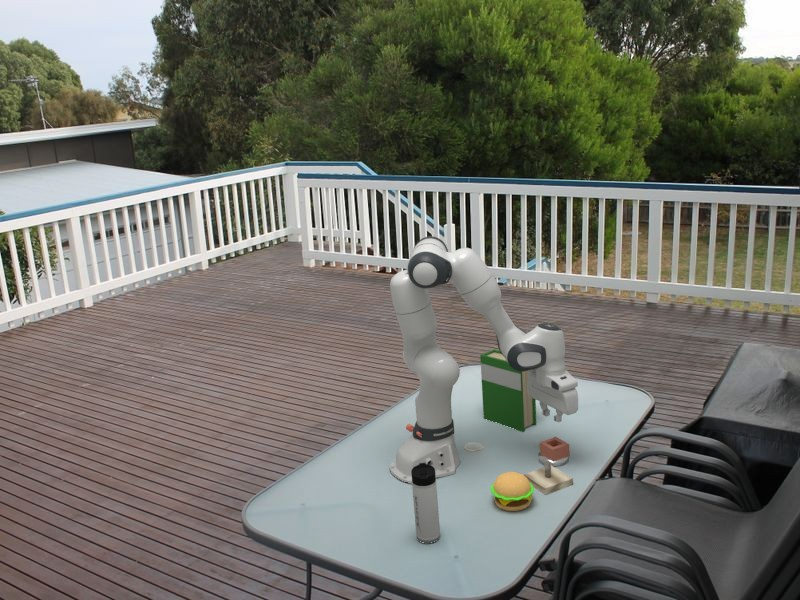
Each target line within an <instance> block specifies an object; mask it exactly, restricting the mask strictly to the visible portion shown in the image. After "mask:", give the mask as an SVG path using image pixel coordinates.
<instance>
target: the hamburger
mask: <svg viewBox="0 0 800 600" xmlns="http://www.w3.org/2000/svg"><path fill="white" fill-rule="evenodd" d="M489 490H490V493H491V494H492V495H494V498H493V500H494V501H493V502H494V503H495V505H496V506H497V507H498V508H499V509H501V510H504V511H507V512H520V511H522V510H525V509H526V508H528V507H529V506H530V504H531V501H533V500H532V499H533V494H534V492H535V488H534V487H533V486H532V484H531V482H529V480H528V479H527V478H526V477H525V476H524V474H522V473H519V472H516V471H507V472H503V473H501V474H499V475H498V476H497V477H496V478H495V480H494V482H492V485H491V486H490V489H489Z"/></svg>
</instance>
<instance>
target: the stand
mask: <svg viewBox="0 0 800 600" xmlns="http://www.w3.org/2000/svg"><path fill="white" fill-rule="evenodd" d="M544 463H545V465H544V467H541V468H538V469H535V470H532V471H530V472H527V473H525V474H523V475H524V476H525V477H526V478H527V479H528V480H529V482H531V484H532V486H533V487H534V489H536V490H538V492H541V493H542V494H544V495H546V496H547V495H549V494H552V493H554V492H556V491H559V490H562V489H565V488H567V487H570V486H573V484H574V480H573V479H574V478H573V477H572V476H569V475H568V474H567V473H564V472H563V471H562V470H560V469H558V467H553V466H552V465H551V462H550V461H545V462H544Z"/></svg>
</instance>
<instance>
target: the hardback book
mask: <svg viewBox="0 0 800 600" xmlns="http://www.w3.org/2000/svg"><path fill="white" fill-rule="evenodd" d="M479 357H480V358H479V359H480V375H481V392H482V393H481V394H482V396H481V397H482V411H483V413H482V414H483V420H486V419H487V421H489V420H490V421H489V422H492V421H493V422H492V423H495V422H497V423H496V424H498V423H500V424H502V425H501V426H503V425H505V426H504V427H506V426H508V427H507V428H509V427H511V428H510V429H512V428H514V429H513V430H515V429H516V431H519V432H521V431H522V433H524V432H525V428H528V427H530V426H534V425H535V426H537V403H536V401H537V400H536V399H534V398H532V397H530V396H529V395H528V393H527V381H528V377H529V371H530V370H529V371H523V372H521V371H516V370H514V369H513V368H512V367H511V366H510V365H509V364H508V362H507V361H506V359H505V357H504V356H503V355H502V354H501V352H500V351H499V349H492V350H490V351H487V352H484V353H482V354H480V356H479ZM500 424H499V425H500ZM531 424H532V425H531Z"/></svg>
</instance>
